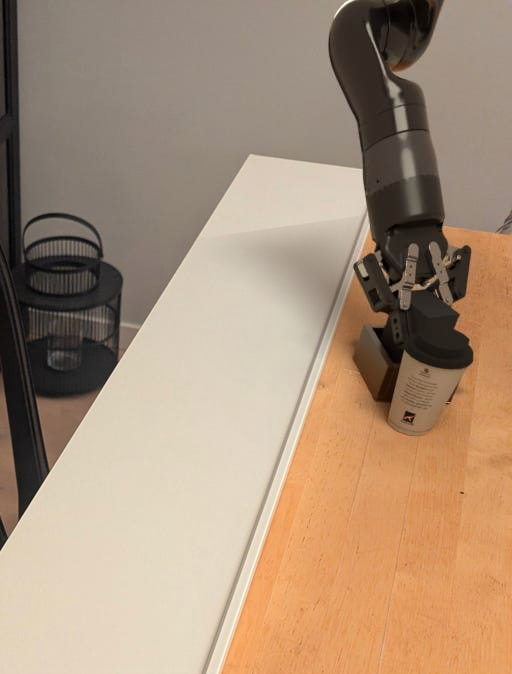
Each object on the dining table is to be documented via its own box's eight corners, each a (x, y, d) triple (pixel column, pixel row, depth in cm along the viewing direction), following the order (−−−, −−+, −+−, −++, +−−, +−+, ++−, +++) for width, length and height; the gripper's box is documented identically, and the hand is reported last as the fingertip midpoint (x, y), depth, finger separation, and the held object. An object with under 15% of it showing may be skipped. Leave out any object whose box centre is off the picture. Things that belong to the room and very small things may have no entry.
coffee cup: (405, 447, 96) (441, 360, 88) (363, 412, 100) (393, 327, 93) (455, 434, 98) (494, 349, 91) (412, 401, 102) (446, 317, 95)
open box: (422, 360, 109) (436, 326, 106) (450, 404, 102) (465, 369, 99) (352, 358, 108) (363, 323, 105) (375, 401, 102) (387, 366, 99)
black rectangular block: (401, 358, 107) (427, 288, 101) (430, 385, 103) (460, 314, 97) (371, 362, 106) (396, 291, 100) (400, 389, 102) (428, 317, 96)
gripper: (366, 175, 94) (391, 341, 95) (481, 168, 97) (504, 328, 98) (325, 208, 101) (349, 362, 102) (433, 200, 105) (456, 350, 106)
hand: (425, 345), depth 100 cm, fingers closed on black rectangular block, 4 cm apart
